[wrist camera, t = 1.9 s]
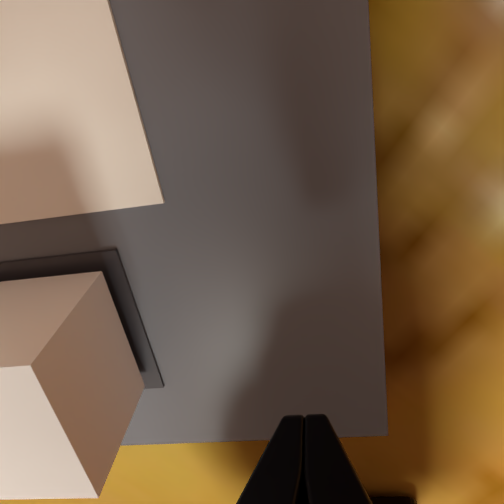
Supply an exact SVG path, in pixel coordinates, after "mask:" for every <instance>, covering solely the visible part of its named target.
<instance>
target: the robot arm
mask: <svg viewBox="0 0 504 504" xmlns="http://www.w3.org/2000/svg"><path fill="white" fill-rule="evenodd" d="M236 504H417V501H416V500H414V499H413V498H410V497H369V496H368V494H367V492H366V490H365V488H364V486H363V484H362V483H361V481H360V479H359V477H358V475H357V473H356V471H355V469H354V467H353V465H352V463H351V461H350V459H349V457H348V455H347V453H346V451H345V450H344V448H343V446H342V444H341V442H340V440H339V438H338V436H337V434H336V432H335V430H334V428H333V426H332V424H331V422H330V420H329V418H328V417H327V416H326V415H325V414H308V415H306V416H305V417H304V416H303V415H286V416H284V417H282V419H281V420H280V422H279V424H278V426H277V428H276V430H275V432H274V434H273V435H272V437H271V439H270V441H269V443H268V445H267V447H266V449H265V451H264V452H263V454H262V456H261V458H260V460H259V462H258V464H257V466H256V467H255V469H254V471H253V473H252V475H251V477H250V479H249V481H248V482H247V484H246V486H245V488H244V490H243V492H242V494H241V496H240V498H239V499H238V501H237V503H236Z"/></svg>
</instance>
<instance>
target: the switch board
mask: <svg viewBox="0 0 504 504" xmlns="http://www.w3.org/2000/svg"><path fill="white" fill-rule="evenodd" d="M98 271H102V273H103V275H104V278H105V281H106V283H107V286H108V289H109V292H110V294H111V297H112V300H113V302H114V305H115V308H116V310H117V313H118V316H119V318H120V321H121V324H122V326H123V329H124V332H125V334H126V337H127V340H128V342H129V345H130V348H131V350H132V353H133V356H134V358H135V361H136V364H137V366H138V369H139V372H140V374H141V377H142V380H143V382H144V385H145V387H144V389H143V392H142V394H141V397H140V399H139V402H138V404H137V406H136V409H135V411H134V414H133V416H132V418H131V421H130V423H129V426H128V428H127V431H126V433H125V435H124V438H123V440H122V443H121V445H147V444H174V443H202V442H229V441H256V440H270V439H271V437H272V435H273V434H274V432H275V430H276V428H277V426H278V424H279V422H280V420H281V419H282V417H284V416H286V415H303V416H304V417H305V416H306V415H308V414H325V415H326V416H327V417H328V418H329V420H330V422H331V424H332V426H333V428H334V430H335V432H336V434H337V436H338V437H365V436H388V418H387V396H386V374H385V353H384V331H383V309H382V287H381V266H380V244H379V222H378V200H377V178H376V157H375V135H374V113H373V91H372V70H371V48H370V26H369V4H368V0H0V282H2V281H12V280H21V279H31V278H40V277H50V276H59V275H69V274H79V273H88V272H98Z"/></svg>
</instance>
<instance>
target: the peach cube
mask: <svg viewBox="0 0 504 504" xmlns="http://www.w3.org/2000/svg"><path fill="white" fill-rule="evenodd" d="M144 387H145V385H144V382H143V380H142V377H141V374H140V372H139V369H138V366H137V364H136V361H135V358H134V356H133V353H132V350H131V348H130V345H129V342H128V340H127V337H126V334H125V332H124V329H123V326H122V324H121V321H120V318H119V316H118V313H117V310H116V308H115V305H114V302H113V300H112V297H111V294H110V292H109V289H108V286H107V283H106V281H105V278H104V275H103V273H102V271H98V272H88V273H79V274H69V275H59V276H50V277H40V278H31V279H21V280H12V281H2V282H0V500H4V499H65V498H99V496H100V493H101V491H102V488H103V486H104V484H105V481H106V479H107V476H108V474H109V472H110V469H111V467H112V464H113V462H114V459H115V457H116V455H117V452H118V450H119V447H120V445H121V443H122V440H123V438H124V435H125V433H126V431H127V428H128V426H129V423H130V421H131V418H132V416H133V414H134V411H135V409H136V406H137V404H138V402H139V399H140V397H141V394H142V392H143V389H144Z"/></svg>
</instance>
